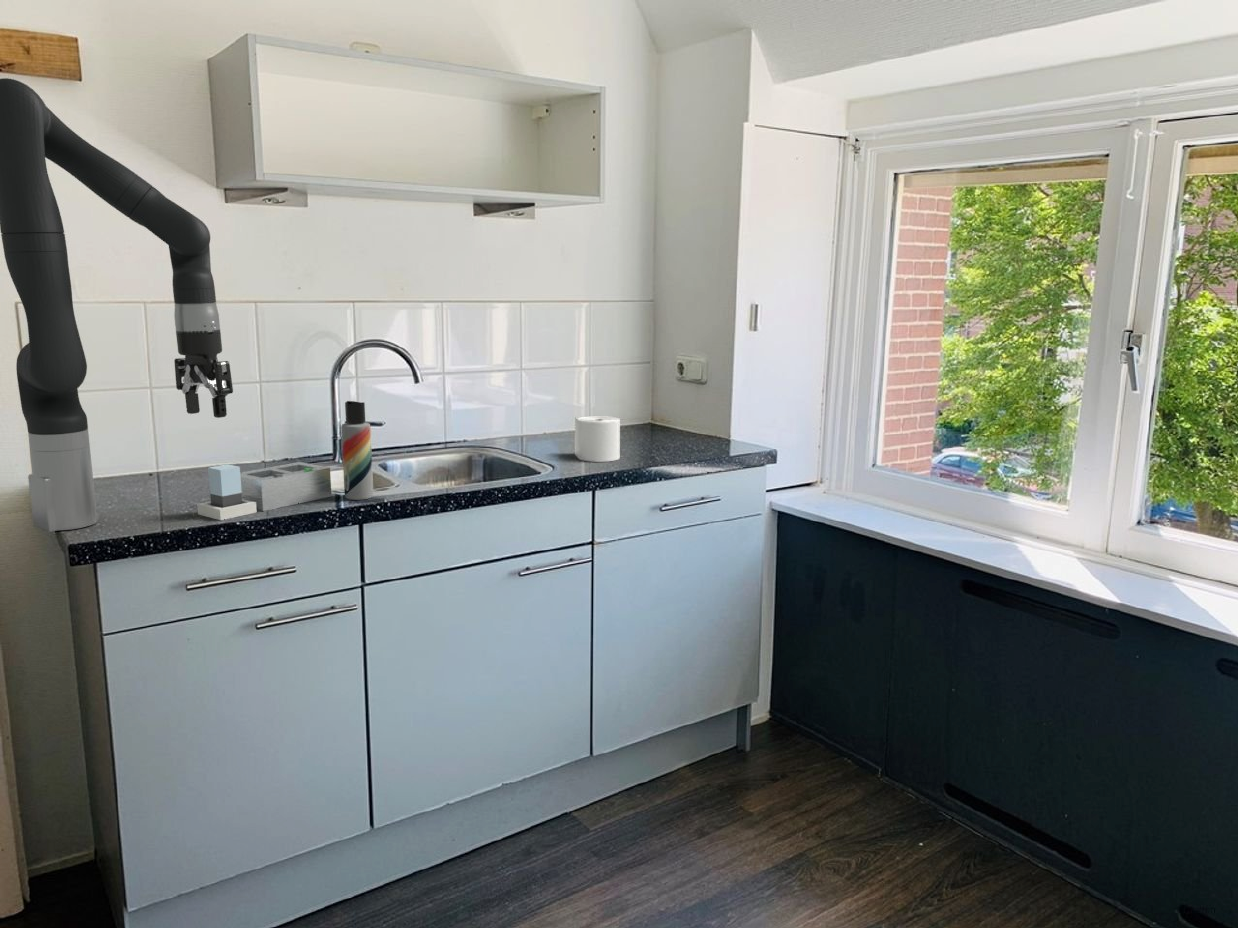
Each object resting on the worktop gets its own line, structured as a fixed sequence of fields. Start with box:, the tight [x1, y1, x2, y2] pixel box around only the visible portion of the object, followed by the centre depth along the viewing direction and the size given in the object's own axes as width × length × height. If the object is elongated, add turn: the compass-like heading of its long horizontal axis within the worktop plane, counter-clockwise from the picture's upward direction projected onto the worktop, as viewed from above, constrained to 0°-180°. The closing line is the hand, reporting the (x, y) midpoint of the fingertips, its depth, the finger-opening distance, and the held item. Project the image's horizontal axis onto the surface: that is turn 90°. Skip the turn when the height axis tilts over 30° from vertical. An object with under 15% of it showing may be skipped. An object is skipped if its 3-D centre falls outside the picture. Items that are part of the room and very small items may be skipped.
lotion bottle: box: [340, 400, 374, 501], centre depth 193 cm, size 6×6×20 cm
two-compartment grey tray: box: [240, 461, 332, 512], centre depth 191 cm, size 16×10×6 cm, turn 145°
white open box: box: [196, 499, 258, 521], centre depth 180 cm, size 8×8×2 cm
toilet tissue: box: [574, 415, 621, 463], centre depth 237 cm, size 11×12×10 cm
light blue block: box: [207, 463, 242, 508], centre depth 179 cm, size 4×4×9 cm
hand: (206, 415), depth 178 cm, fingers open, 8 cm apart
